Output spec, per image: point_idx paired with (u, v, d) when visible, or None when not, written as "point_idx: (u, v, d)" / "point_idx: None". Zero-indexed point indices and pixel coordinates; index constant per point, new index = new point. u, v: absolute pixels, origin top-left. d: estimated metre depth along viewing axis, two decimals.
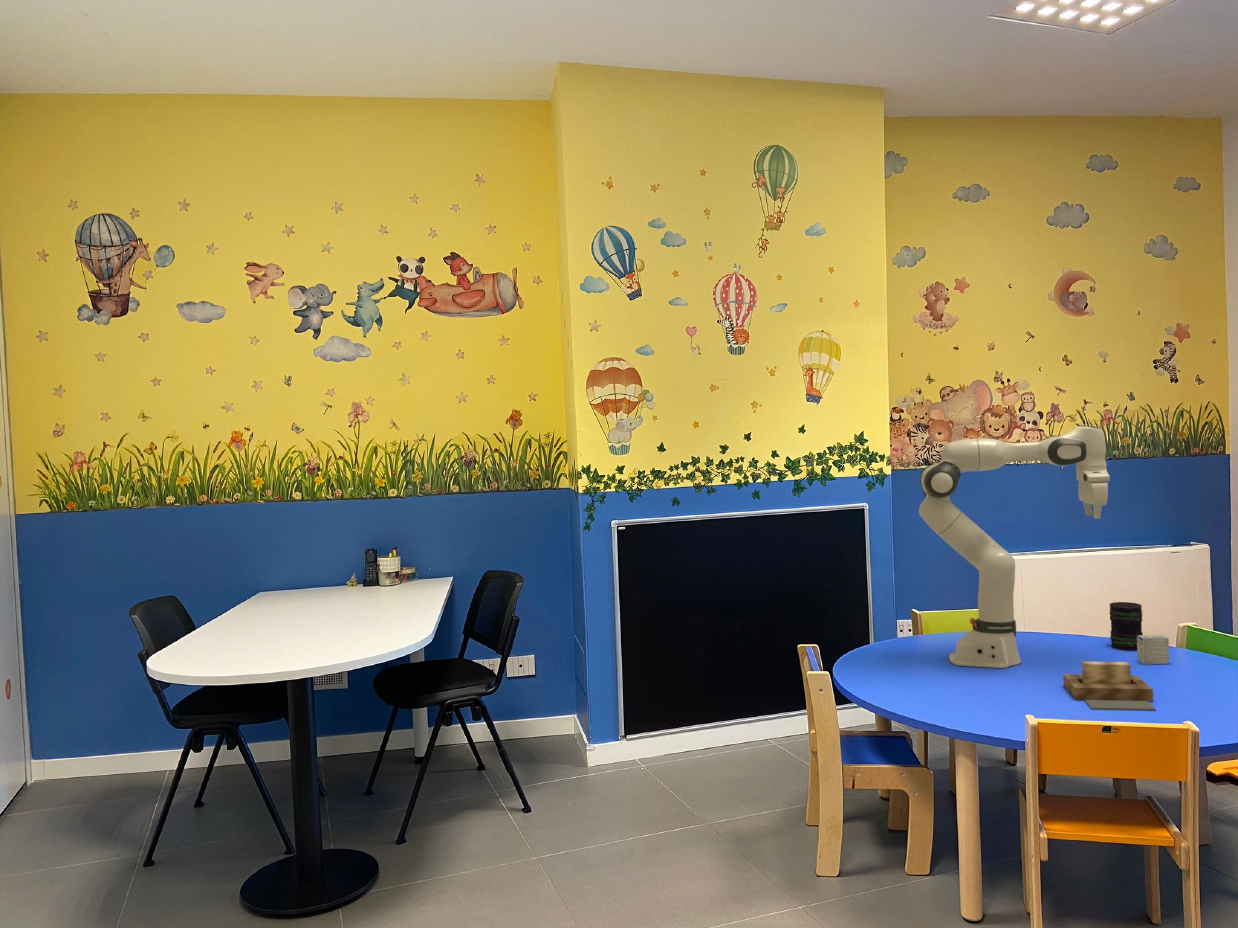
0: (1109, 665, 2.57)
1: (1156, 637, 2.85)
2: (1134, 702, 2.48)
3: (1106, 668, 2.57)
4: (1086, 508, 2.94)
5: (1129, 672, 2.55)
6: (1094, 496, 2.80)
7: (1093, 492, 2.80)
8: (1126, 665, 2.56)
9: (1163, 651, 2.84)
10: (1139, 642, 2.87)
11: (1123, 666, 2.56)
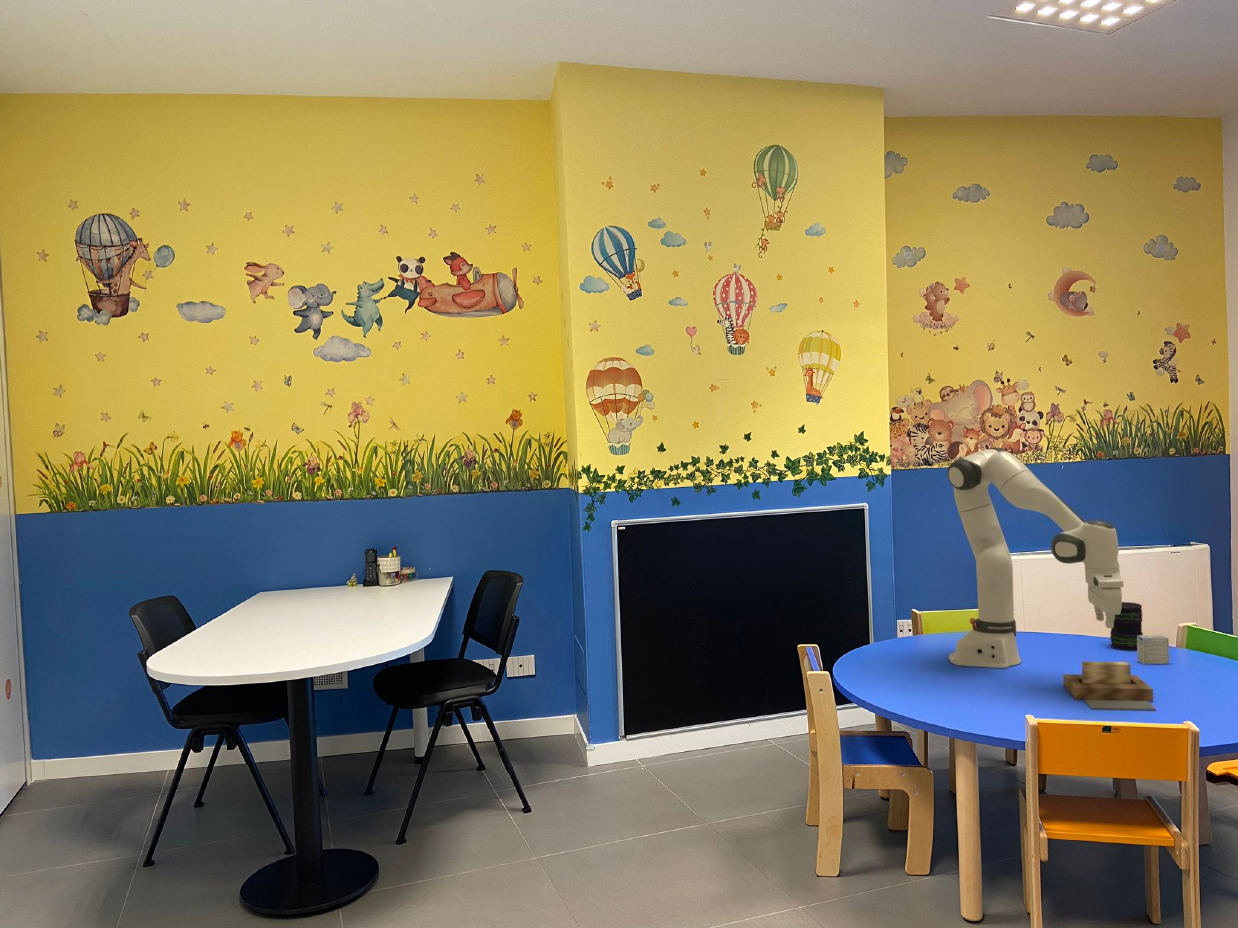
0: (1109, 665, 2.57)
1: (1156, 637, 2.85)
2: (1134, 702, 2.48)
3: (1106, 668, 2.57)
4: (1097, 612, 2.63)
5: (1129, 672, 2.55)
6: (1106, 604, 2.48)
7: (1105, 600, 2.49)
8: (1126, 665, 2.56)
9: (1162, 651, 2.84)
10: (1139, 642, 2.87)
11: (1123, 666, 2.56)
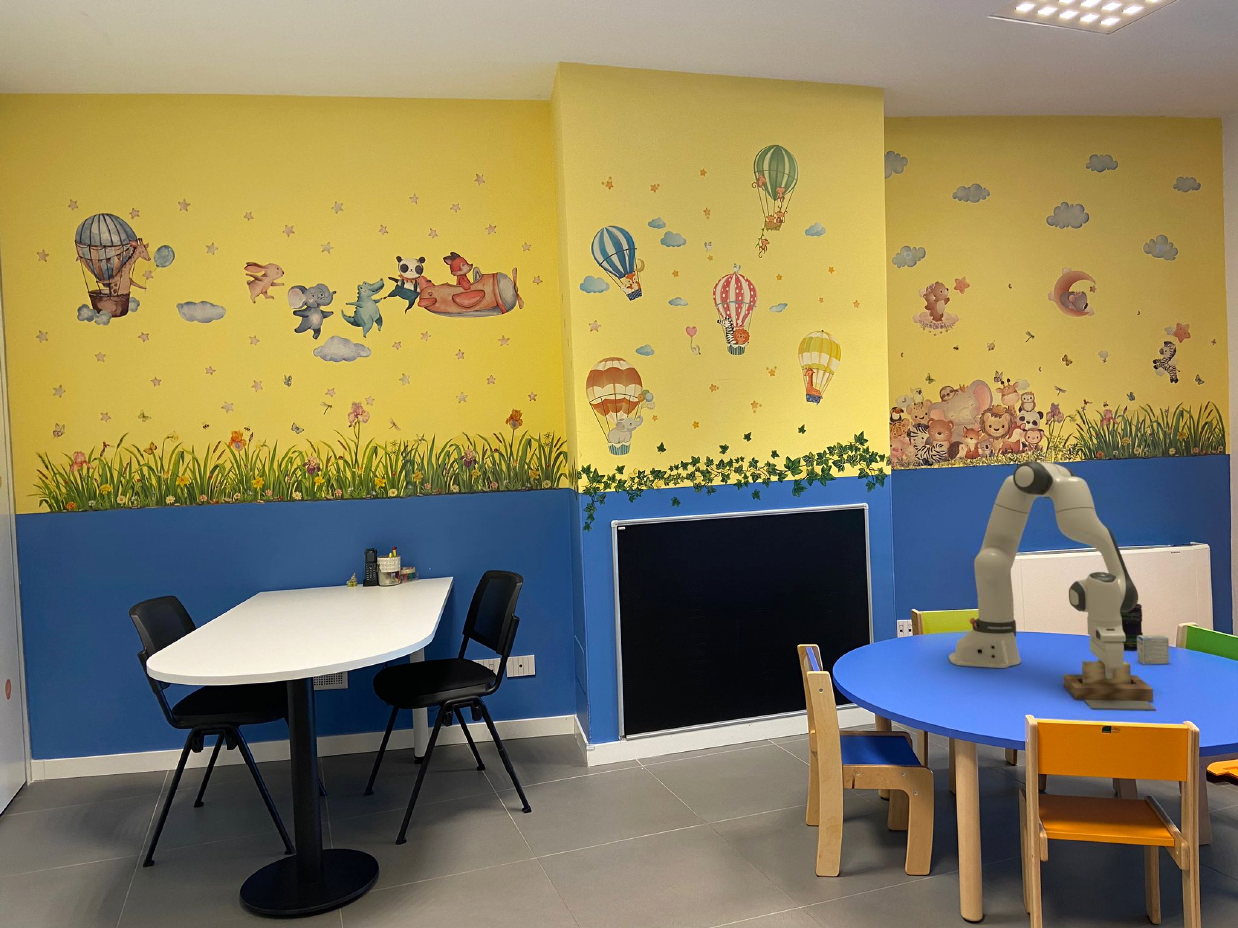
0: None
1: (1156, 637, 2.85)
2: (1134, 702, 2.48)
3: None
4: None
5: (1129, 672, 2.55)
6: (1108, 658, 2.49)
7: (1107, 654, 2.49)
8: (1126, 665, 2.56)
9: (1162, 651, 2.84)
10: (1139, 642, 2.87)
11: (1123, 666, 2.56)
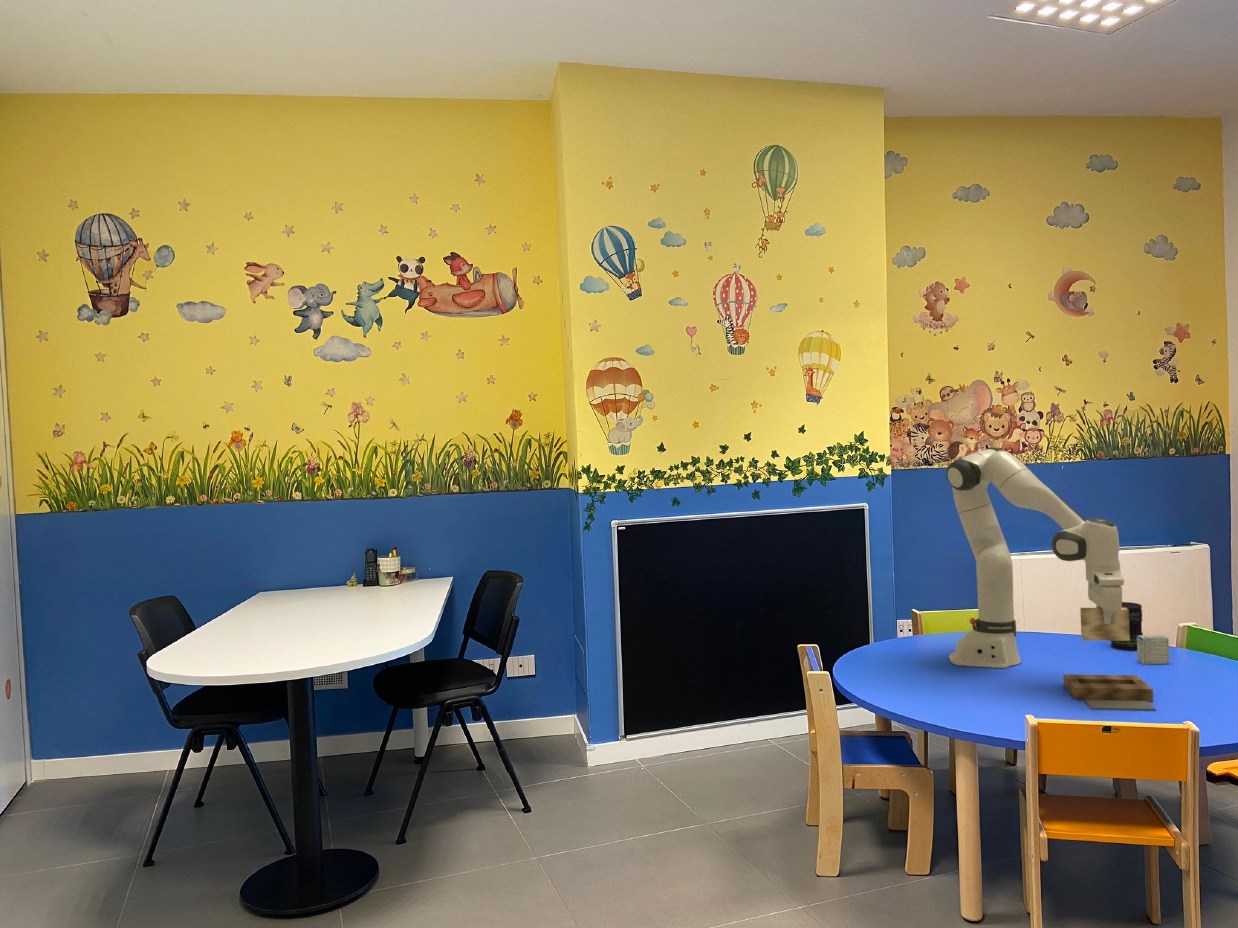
0: None
1: (1156, 637, 2.85)
2: (1134, 702, 2.48)
3: None
4: None
5: (1127, 617, 2.55)
6: (1106, 602, 2.48)
7: (1105, 597, 2.48)
8: (1124, 610, 2.55)
9: (1162, 651, 2.84)
10: (1139, 642, 2.87)
11: (1121, 611, 2.55)
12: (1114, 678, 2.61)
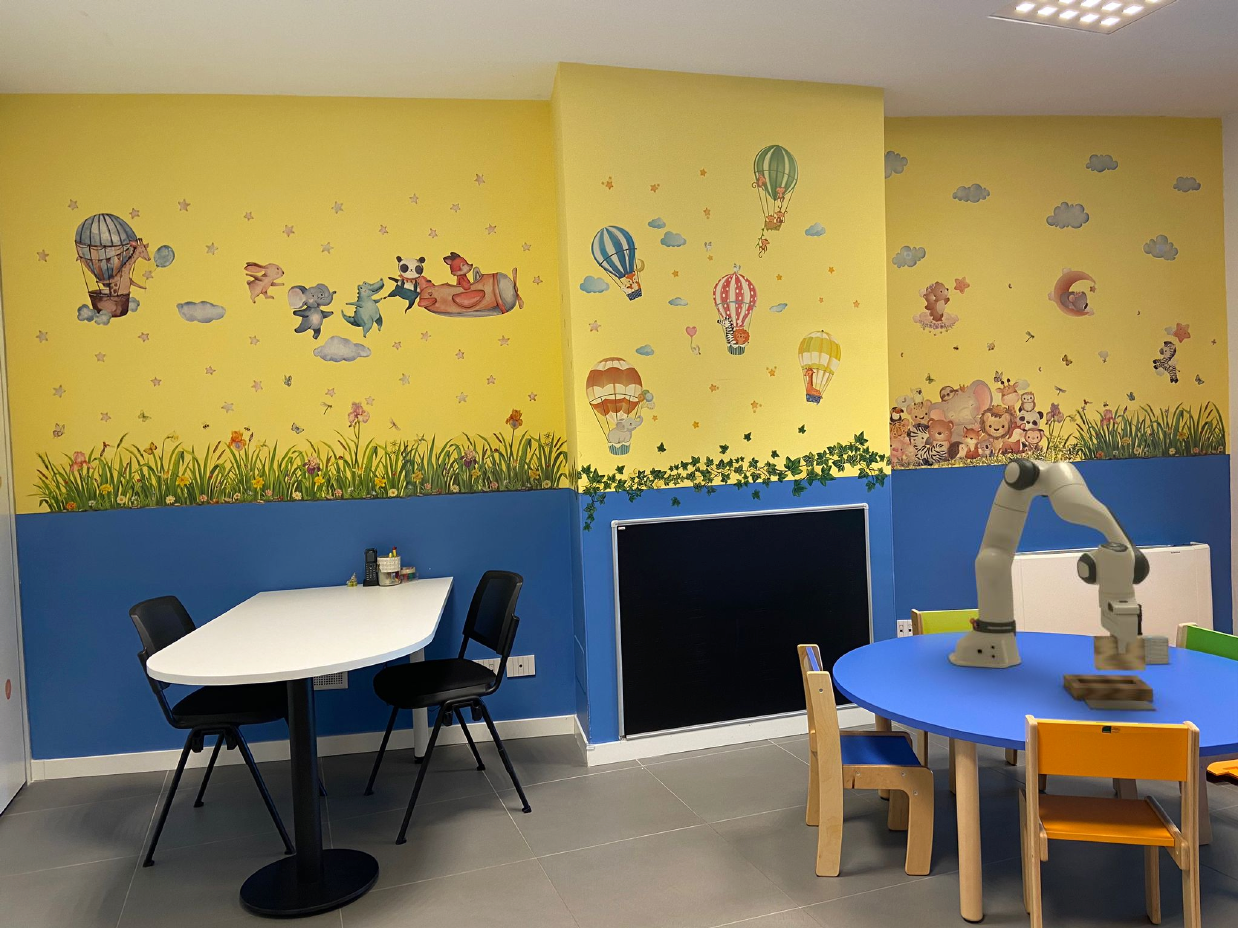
0: None
1: (1156, 637, 2.85)
2: (1134, 702, 2.48)
3: None
4: None
5: (1143, 646, 2.43)
6: (1121, 631, 2.37)
7: (1120, 626, 2.37)
8: (1140, 639, 2.44)
9: (1162, 651, 2.84)
10: None
11: (1137, 640, 2.44)
12: (1114, 678, 2.61)
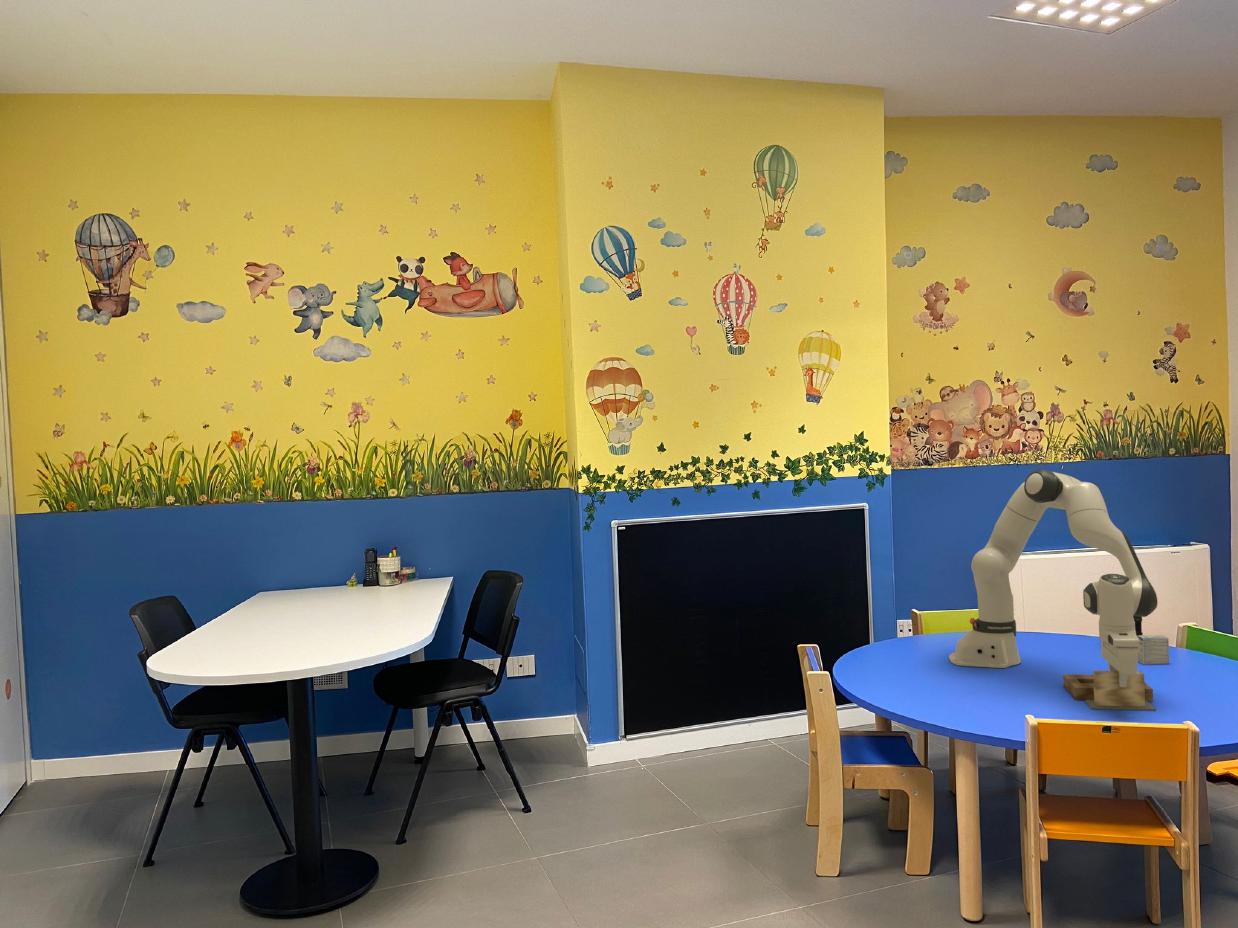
0: None
1: (1156, 637, 2.85)
2: None
3: (1118, 677, 2.45)
4: (1111, 670, 2.51)
5: (1143, 682, 2.44)
6: (1121, 664, 2.37)
7: (1120, 660, 2.37)
8: (1140, 674, 2.44)
9: (1162, 651, 2.84)
10: (1139, 642, 2.87)
11: (1137, 675, 2.44)
12: None
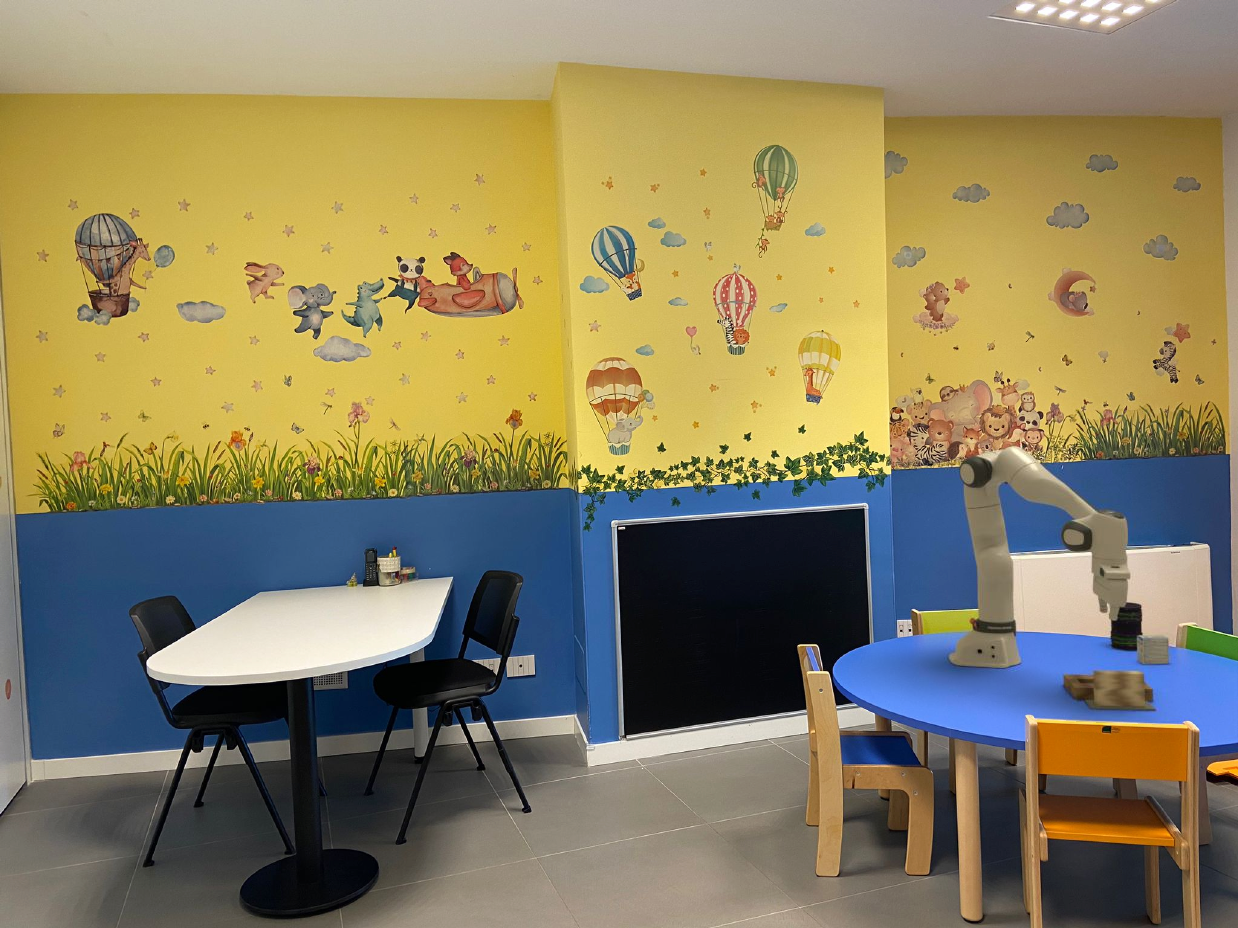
0: (1122, 674, 2.45)
1: (1156, 637, 2.85)
2: None
3: (1118, 677, 2.45)
4: (1101, 604, 2.56)
5: (1143, 682, 2.44)
6: (1111, 596, 2.42)
7: (1110, 591, 2.42)
8: (1140, 674, 2.44)
9: (1162, 651, 2.84)
10: (1139, 642, 2.87)
11: (1137, 675, 2.44)
12: None
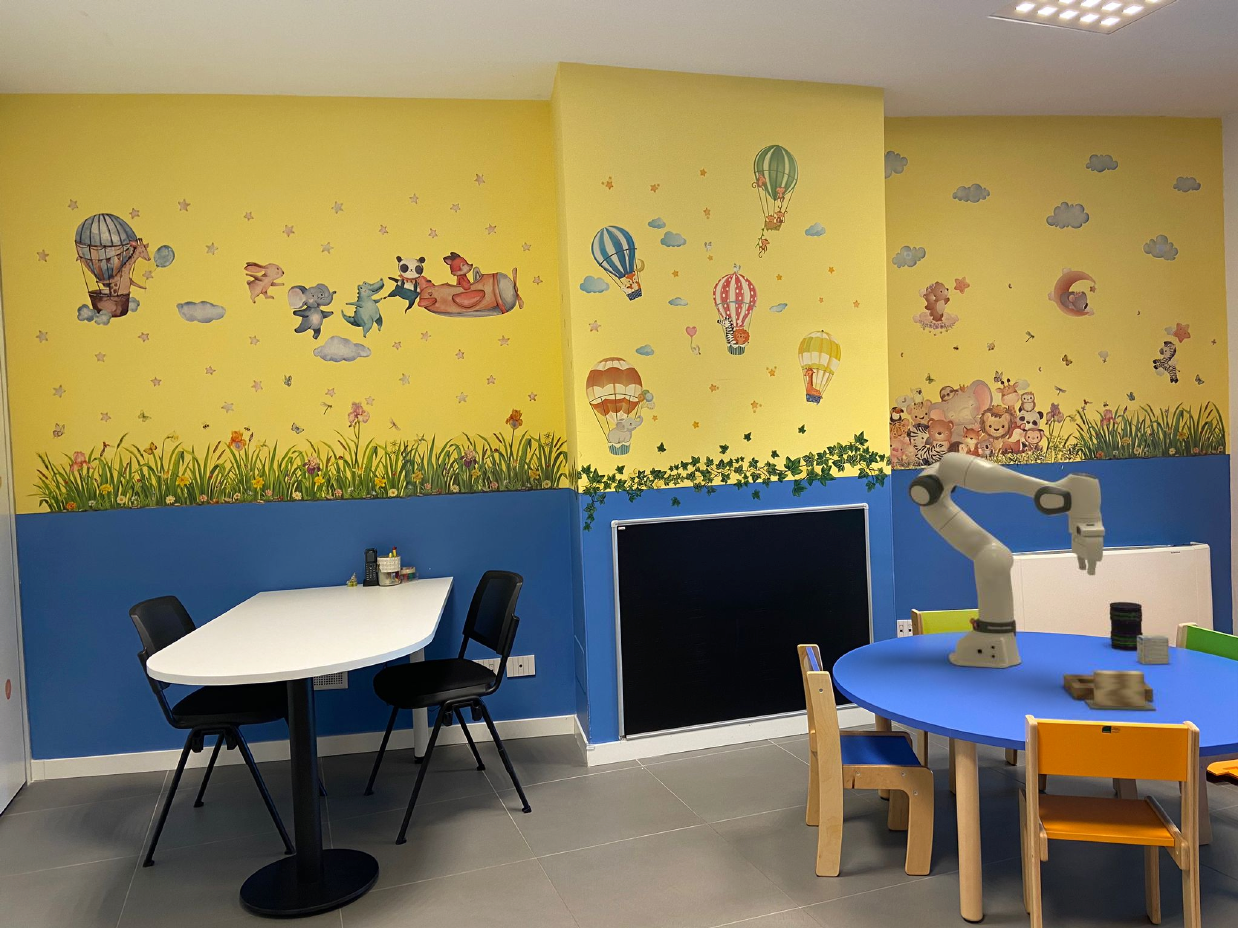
0: (1122, 674, 2.45)
1: (1156, 637, 2.85)
2: None
3: (1118, 677, 2.45)
4: (1080, 562, 2.71)
5: (1143, 682, 2.44)
6: (1088, 551, 2.57)
7: (1087, 547, 2.57)
8: (1140, 674, 2.44)
9: (1162, 651, 2.84)
10: (1139, 642, 2.87)
11: (1137, 675, 2.44)
12: None
